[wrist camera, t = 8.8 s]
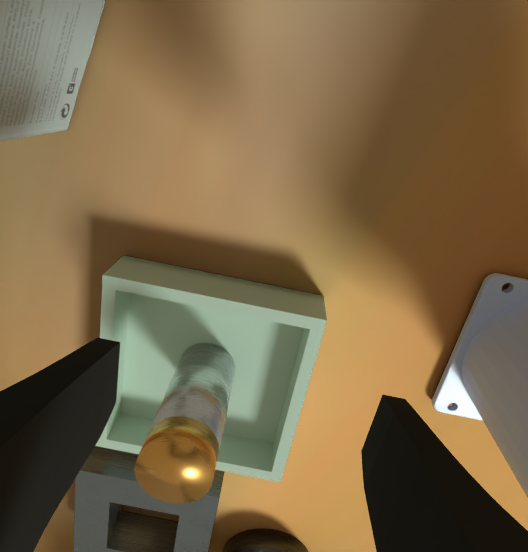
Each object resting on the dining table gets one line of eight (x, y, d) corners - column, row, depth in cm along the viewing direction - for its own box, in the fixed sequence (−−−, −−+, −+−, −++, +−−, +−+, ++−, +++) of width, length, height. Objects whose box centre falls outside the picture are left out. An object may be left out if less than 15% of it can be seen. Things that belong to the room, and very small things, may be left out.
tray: (323, 295, 21) (326, 320, 19) (281, 446, 25) (280, 482, 23) (123, 255, 21) (102, 274, 19) (113, 413, 25) (94, 445, 23)
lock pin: (244, 355, 22) (224, 461, 16) (224, 398, 23) (197, 513, 17) (189, 334, 22) (146, 433, 16) (172, 378, 23) (125, 488, 17)
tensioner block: (339, 484, 26) (344, 527, 23) (299, 595, 30) (300, 641, 28) (94, 436, 26) (72, 474, 23) (89, 554, 30) (70, 597, 28)
